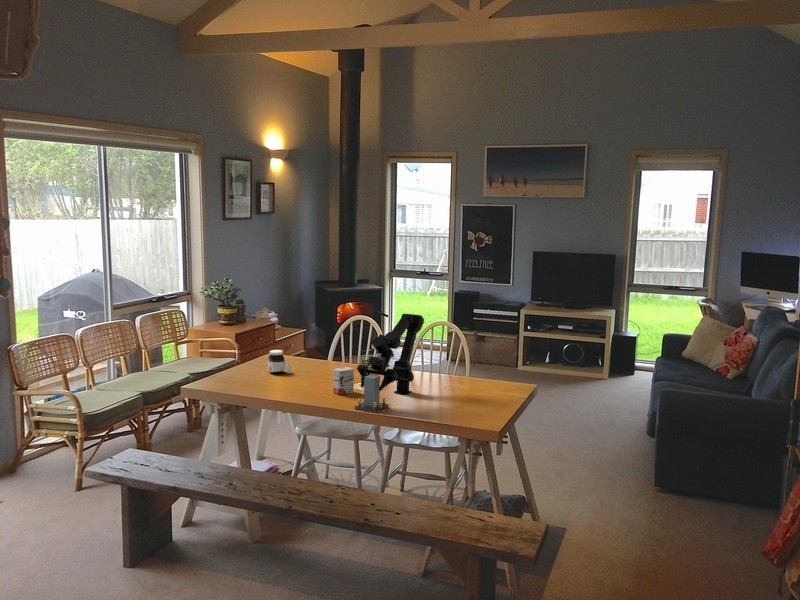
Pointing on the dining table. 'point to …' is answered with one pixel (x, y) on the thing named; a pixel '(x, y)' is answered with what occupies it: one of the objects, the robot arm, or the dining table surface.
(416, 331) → the robot arm
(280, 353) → the spread jar
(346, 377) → the ink box
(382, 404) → the base plate
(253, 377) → the dining table surface
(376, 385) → the post
